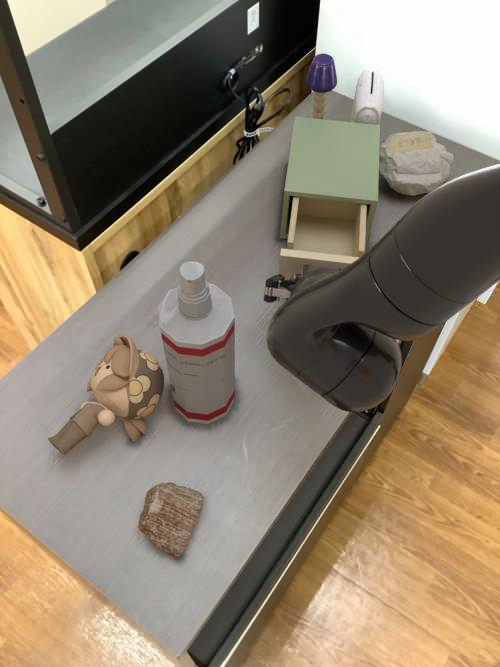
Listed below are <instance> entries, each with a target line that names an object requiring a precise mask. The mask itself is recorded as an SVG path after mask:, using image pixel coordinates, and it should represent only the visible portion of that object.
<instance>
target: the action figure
mask: <svg viewBox="0 0 500 667" xmlns="http://www.w3.org/2000/svg"><path fill="white" fill-rule="evenodd" d="M163 370H164V369H163V368H162V366H161V363H160V362H159V361H158V360H157V358H155V357H153V356H152V355H151V354H150V353H148V352H147V351H144V350H141V349H138V348H137V344H136V342H135V341H134V340H133V338H131V337H130V336H128V335H127V334H120V335H119V336H113V344H112V346H111V347H110V348H108V349H107V351H106V353H105V354H104V356H103V357H102V358H101V359H100V360H99V362H98V363H97V365H96V367H95V369H94V371H93V373H92V375H91V377H90V379H89V381H88V383H87V387H86V393H89V392H92V394H93V396H94V397H95V399H96V401H93V400H92V401H89V400H86V401H84V402H82V403H81V405H79V409H78V411H76V412H75V413H74V414H72V416H70V417H69V420H68V421H67V422H66V423H65V424H64V425H63V427H62V428H61V429H60V430H59V431H58V432H57V433H56V434H54V435H53V436H50V437H47V441H49V443H50V444H51V445H52V446H53V447H54V448H55V449H56V450H57V451H58V452H59V453H61V454H62V455H63V456H65V455H67V454H69V452H70V451H72V450H73V449H74V448H75V447H76V446H78V445H79V444H80V443H81V442H82V441H84V440H85V439H90V437H91V436H92V434H93V432H94V431H95V430H96V428H97V427H98V426H99V425H101V426H104V427H109V426H111V425H113V424H114V422H115V420H116V417H115V416H118V418H120V419H122V421H123V427H124V429H125V432H126V434H127V435H128V437H129V438H130V440H131V441H132V442H133V443H135V442H136V441H137V440H139V438H140V436H141V434H143V435H144V436H145V435H146V434H147V431H148V425H147V421H146V420H145V418H144V417H146V416H148V415H149V414H151V413H152V412H153V411H154V410H155V409H156V408H157V406H158V404H159V403H160V401H161V399H162V396H163V393H164V388H165V374H164V371H163Z"/></svg>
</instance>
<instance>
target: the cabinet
mask: <svg viewBox="0 0 500 667" xmlns="http://www.w3.org/2000/svg"><path fill="white" fill-rule="evenodd" d="M293 119H294V121H293V125H292V126H293V129H292V134H291V140H290V141H291V142H290V148H289V155H288V161H287V170H286V176H285V182H284V189H283V199H282V200H283V201H282V212H281V221H280V222H281V223H280V234H279V238H280V239H283V240H288V234H289V226H290V219H291V211H292V204H293V196H299V197H308V198H317V199H326V200H336V201H345V202H354V203H363V204H367V212H366V236H365V248H366V247H367V243H368V239H369V236H370V231H371V228H372V225H373V222H374V217H375V214H376V209H377V206H378V203H379V182H380V181H379V179H380V176H379V175H380V171H379V147H380V146H381V144H380V142H381V140H380V139H381V125H380V124H379V125H373V124H363V123H354V122H350V121H343V120H335V119H334V120H333V119H326V118H325V119H324V118H323V119H315V118H313V117H305V116H296V115H295V116H294V118H293Z"/></svg>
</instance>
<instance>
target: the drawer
mask: <svg viewBox="0 0 500 667" xmlns="http://www.w3.org/2000/svg"><path fill="white" fill-rule="evenodd" d="M366 212H367V204H363V203H354V202H345V201H336V200H326V199H317V198H308V197H299V196H293V204H292V211H291V219H290V226H289V234H288V239H287V243H286V248H281V249H280V254H279V263H278V271H277V272H278V274H281V275H282V276H285V279H284V280H289V278H290V276H293V275H295V276H296V274H301V276H304V275H305V274H307V273H308V272H310V271H313V270H316V269H321V268H330V269H334V270H338V271H339V270H341V269H343V268H344V267H346V266H348V265H349V264H351V263H353V262H354V261H356V260H357V259H359V258H360V257H361V256H363V255H364V254H365V253H366V247H365V236H366ZM278 274H277V275H278Z"/></svg>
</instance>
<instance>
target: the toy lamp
mask: <svg viewBox="0 0 500 667" xmlns="http://www.w3.org/2000/svg"><path fill="white" fill-rule="evenodd" d="M305 85H306V87H307V88H308V89H309V90H310V91H312V92H314V96H313V100H314V101H313V104H312V106H313V110H312V118H315V119H324V117H325V108H326V103H325V102H326V100H327V93H329V92H332V91H333V90H334V89H335V88H336V87H337V85H338V76H337V70H336V63H335V59H334V57H333V56H332V55H331V54H329V53H323V52H322V53H318V54H315V55H314V57H313V58H312V60H311V63H310V66H309V67H308V71H307V74H306V77H305Z"/></svg>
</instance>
